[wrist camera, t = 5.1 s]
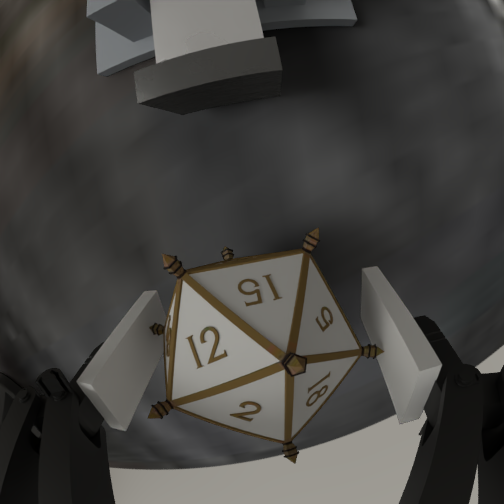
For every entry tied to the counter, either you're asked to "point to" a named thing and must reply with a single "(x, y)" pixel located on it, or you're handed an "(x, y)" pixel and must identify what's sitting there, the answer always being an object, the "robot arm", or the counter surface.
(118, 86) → the counter surface
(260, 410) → the game die
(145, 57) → the gauge housing
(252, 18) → the block with dark end
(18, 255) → the counter surface
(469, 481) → the robot arm
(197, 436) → the counter surface
